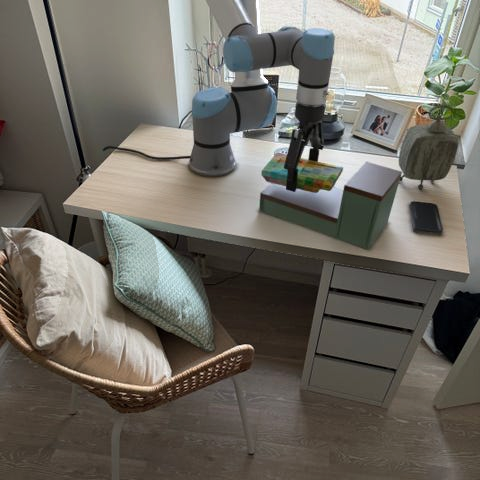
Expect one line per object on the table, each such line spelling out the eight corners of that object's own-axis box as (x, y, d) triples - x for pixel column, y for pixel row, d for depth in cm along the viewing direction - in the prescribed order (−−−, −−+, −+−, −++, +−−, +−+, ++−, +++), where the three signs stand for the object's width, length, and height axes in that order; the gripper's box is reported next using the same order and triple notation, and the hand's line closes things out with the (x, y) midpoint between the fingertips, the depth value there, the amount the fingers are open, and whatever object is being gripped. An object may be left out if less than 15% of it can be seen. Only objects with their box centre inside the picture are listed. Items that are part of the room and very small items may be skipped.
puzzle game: (276, 150, 135) (343, 164, 130) (275, 165, 138) (340, 179, 133) (261, 167, 127) (332, 183, 122) (260, 183, 131) (329, 199, 125)
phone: (436, 203, 139) (443, 231, 129) (435, 206, 140) (441, 235, 130) (409, 200, 140) (414, 228, 130) (408, 203, 141) (412, 231, 131)
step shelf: (259, 210, 137) (261, 159, 126) (283, 189, 146) (288, 139, 135) (368, 249, 125) (382, 196, 113) (387, 223, 134) (402, 171, 122)
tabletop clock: (435, 178, 152) (463, 99, 134) (444, 193, 146) (475, 112, 128) (392, 178, 152) (414, 99, 134) (399, 193, 146) (423, 111, 128)
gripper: (302, 121, 108) (293, 203, 123) (344, 90, 122) (331, 166, 138) (274, 114, 110) (268, 195, 126) (318, 84, 125) (308, 160, 140)
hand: (301, 180), depth 132 cm, fingers closed on puzzle game, 12 cm apart
